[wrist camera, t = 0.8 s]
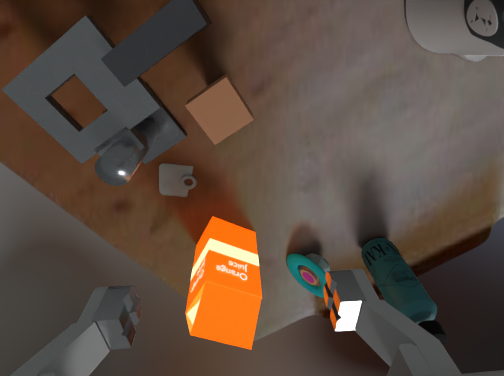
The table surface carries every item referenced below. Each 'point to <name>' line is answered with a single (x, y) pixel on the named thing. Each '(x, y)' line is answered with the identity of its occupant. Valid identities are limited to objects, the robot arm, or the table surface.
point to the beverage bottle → (401, 285)
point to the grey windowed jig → (110, 89)
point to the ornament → (309, 271)
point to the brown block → (220, 109)
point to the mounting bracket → (175, 179)
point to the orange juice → (225, 285)
